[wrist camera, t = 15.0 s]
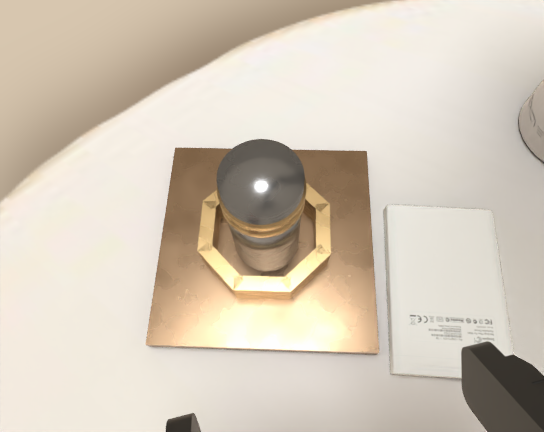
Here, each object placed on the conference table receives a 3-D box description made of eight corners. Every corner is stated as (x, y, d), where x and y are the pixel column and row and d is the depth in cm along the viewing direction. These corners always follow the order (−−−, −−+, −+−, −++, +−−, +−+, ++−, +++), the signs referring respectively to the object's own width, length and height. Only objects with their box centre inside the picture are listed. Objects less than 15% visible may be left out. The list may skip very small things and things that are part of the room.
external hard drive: (484, 217, 34) (508, 383, 29) (381, 212, 35) (388, 374, 30) (494, 209, 33) (521, 382, 28) (386, 203, 33) (393, 373, 28)
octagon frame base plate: (364, 157, 36) (372, 133, 33) (376, 354, 30) (387, 348, 27) (177, 154, 37) (167, 130, 34) (149, 346, 30) (134, 339, 27)
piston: (300, 210, 33) (306, 137, 24) (300, 273, 31) (308, 219, 22) (235, 210, 33) (217, 136, 24) (231, 273, 31) (210, 219, 22)
